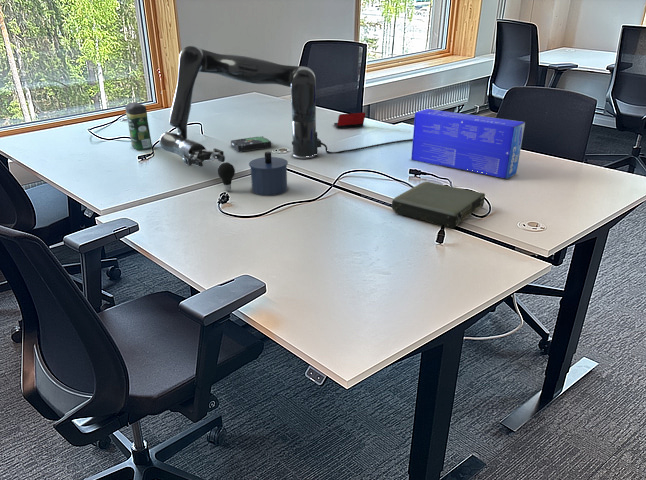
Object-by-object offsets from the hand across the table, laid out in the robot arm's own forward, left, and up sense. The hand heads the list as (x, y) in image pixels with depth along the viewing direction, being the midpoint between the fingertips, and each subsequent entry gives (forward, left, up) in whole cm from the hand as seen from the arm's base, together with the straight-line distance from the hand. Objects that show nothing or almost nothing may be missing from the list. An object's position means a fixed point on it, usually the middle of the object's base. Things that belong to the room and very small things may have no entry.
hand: (212, 161), depth 204 cm
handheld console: (-71, -59, -8) cm, 93 cm away
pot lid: (-17, +12, +1) cm, 21 cm away
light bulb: (-3, +9, -8) cm, 13 cm away
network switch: (-62, +48, -8) cm, 79 cm away
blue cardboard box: (-91, +12, -8) cm, 92 cm away
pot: (-17, +12, -8) cm, 23 cm away
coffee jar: (+24, -58, -8) cm, 63 cm away
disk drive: (-21, -42, -8) cm, 47 cm away
